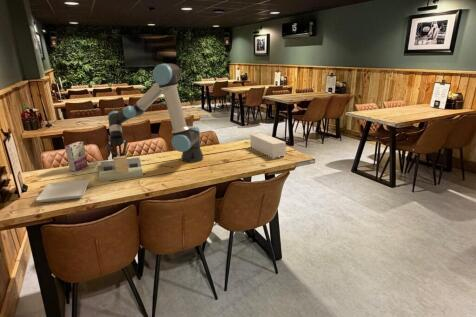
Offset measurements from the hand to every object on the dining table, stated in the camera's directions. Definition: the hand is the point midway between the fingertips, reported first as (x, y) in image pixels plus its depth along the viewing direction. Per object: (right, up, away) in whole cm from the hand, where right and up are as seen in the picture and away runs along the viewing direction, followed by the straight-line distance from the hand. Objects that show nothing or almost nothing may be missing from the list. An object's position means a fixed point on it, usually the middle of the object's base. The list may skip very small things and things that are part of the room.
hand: (119, 165), depth 183 cm
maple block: (+3, -3, -3) cm, 5 cm away
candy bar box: (-30, -2, +9) cm, 31 cm away
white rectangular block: (+95, +9, +42) cm, 104 cm away
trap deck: (-1, -3, +5) cm, 6 cm away
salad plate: (-17, -15, -27) cm, 35 cm away
